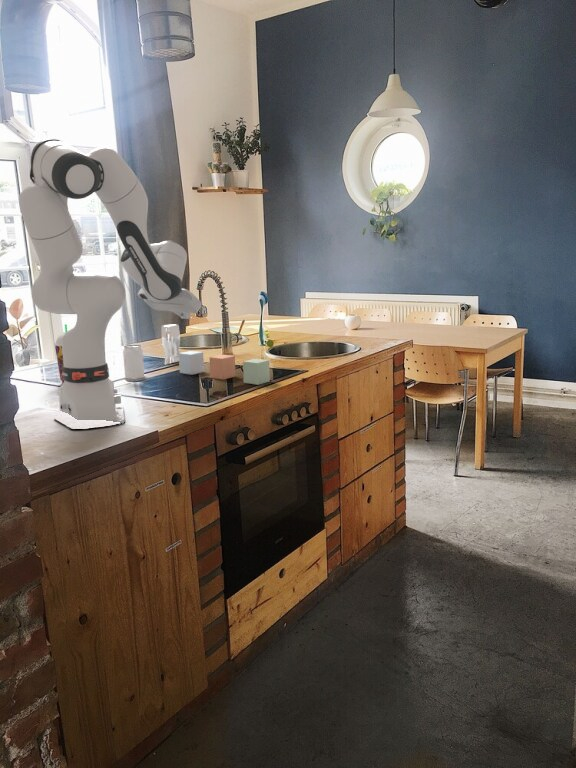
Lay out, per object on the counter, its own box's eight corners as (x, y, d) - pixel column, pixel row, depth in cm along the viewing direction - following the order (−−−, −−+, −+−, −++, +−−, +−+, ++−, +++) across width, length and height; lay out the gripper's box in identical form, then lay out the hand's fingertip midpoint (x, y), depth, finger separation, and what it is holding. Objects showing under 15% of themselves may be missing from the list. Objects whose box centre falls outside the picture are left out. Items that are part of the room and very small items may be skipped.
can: (139, 382, 224) (137, 347, 222) (122, 382, 225) (119, 347, 223) (147, 378, 230) (145, 344, 228) (130, 378, 232) (127, 344, 229)
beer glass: (173, 366, 252) (170, 326, 249) (159, 364, 256) (157, 326, 252) (185, 363, 258) (183, 324, 254) (171, 361, 261) (169, 323, 258)
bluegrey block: (191, 374, 229) (190, 354, 227) (179, 372, 232) (178, 353, 231) (204, 371, 233) (203, 352, 232) (192, 370, 237) (191, 350, 235)
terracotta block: (223, 379, 220) (222, 358, 218) (210, 377, 223) (209, 357, 222) (235, 376, 224) (234, 356, 223) (222, 374, 228) (221, 354, 226)
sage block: (257, 384, 210) (257, 363, 209) (243, 382, 214) (242, 361, 213) (269, 381, 215) (269, 360, 214) (255, 379, 219) (255, 358, 217)
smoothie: (62, 386, 221) (56, 326, 217) (55, 382, 228) (49, 324, 223) (87, 383, 225) (81, 324, 221) (79, 379, 232) (74, 322, 228)
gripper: (189, 280, 192) (215, 311, 202) (144, 279, 205) (170, 307, 214) (179, 297, 190) (205, 327, 200) (133, 294, 202) (160, 323, 212)
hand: (186, 317), depth 207 cm, fingers closed
